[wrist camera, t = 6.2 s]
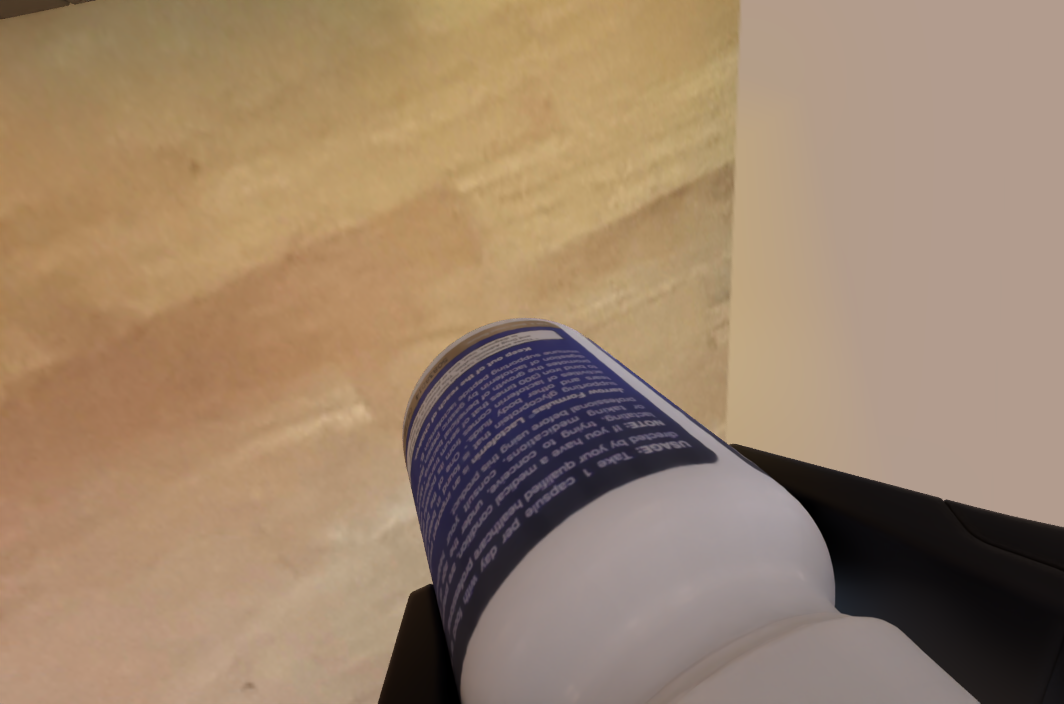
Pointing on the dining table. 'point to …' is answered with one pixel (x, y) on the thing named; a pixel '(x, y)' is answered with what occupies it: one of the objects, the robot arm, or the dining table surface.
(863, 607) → the robot arm
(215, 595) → the dining table surface
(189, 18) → the dining table surface
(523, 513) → the pill bottle
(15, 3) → the stand
